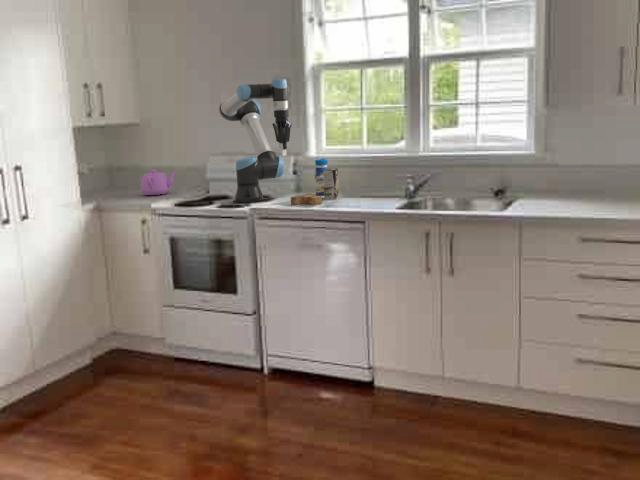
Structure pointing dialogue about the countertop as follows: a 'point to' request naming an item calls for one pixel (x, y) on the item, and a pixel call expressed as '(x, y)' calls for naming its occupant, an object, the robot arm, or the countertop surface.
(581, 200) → the countertop surface
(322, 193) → the beverage bottle
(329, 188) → the coffee box
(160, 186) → the teapot
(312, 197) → the walnut t block
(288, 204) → the slate board
